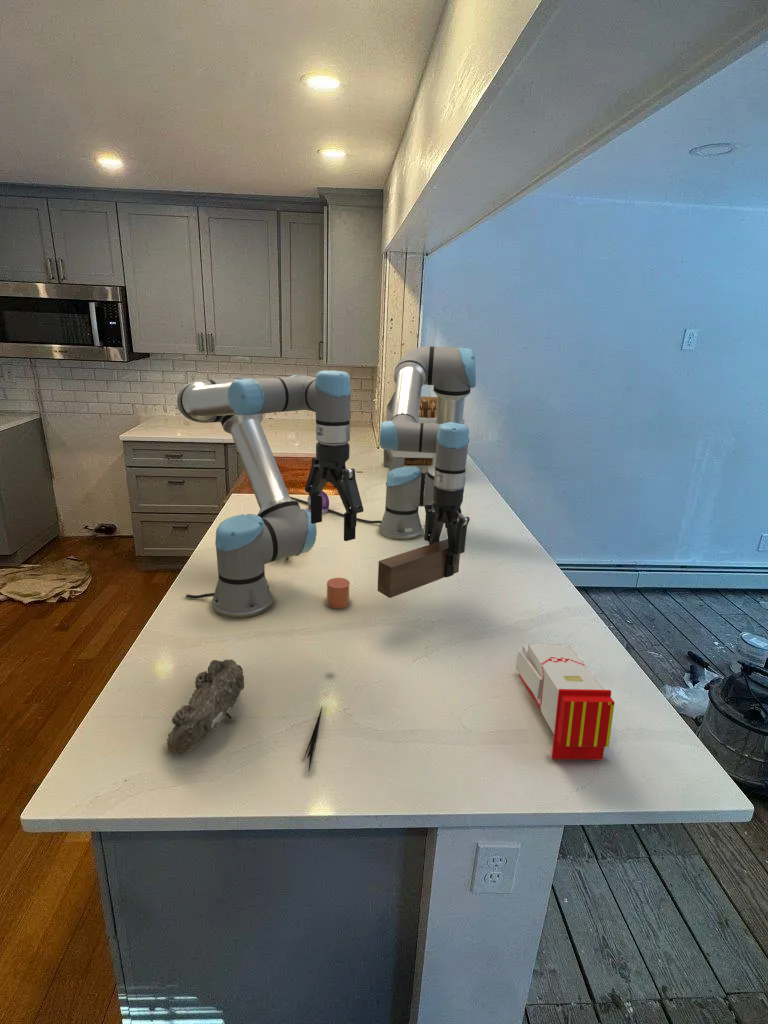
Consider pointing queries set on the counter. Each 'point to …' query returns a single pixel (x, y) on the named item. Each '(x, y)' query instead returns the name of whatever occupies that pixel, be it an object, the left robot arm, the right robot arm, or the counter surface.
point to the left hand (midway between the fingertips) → (332, 530)
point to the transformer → (413, 458)
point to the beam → (413, 569)
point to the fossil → (206, 705)
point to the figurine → (324, 502)
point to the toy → (568, 700)
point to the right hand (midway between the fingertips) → (441, 571)
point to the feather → (313, 740)
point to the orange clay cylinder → (338, 592)
